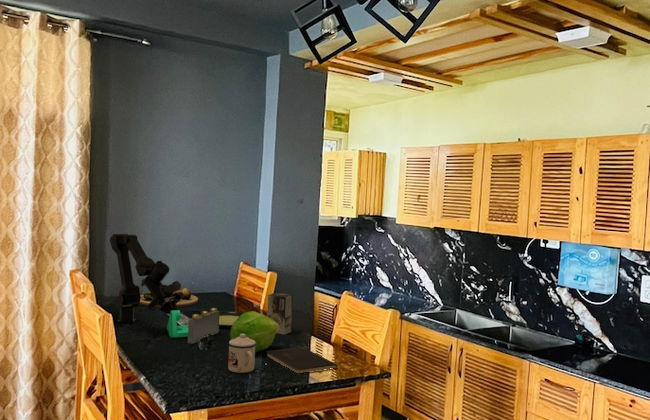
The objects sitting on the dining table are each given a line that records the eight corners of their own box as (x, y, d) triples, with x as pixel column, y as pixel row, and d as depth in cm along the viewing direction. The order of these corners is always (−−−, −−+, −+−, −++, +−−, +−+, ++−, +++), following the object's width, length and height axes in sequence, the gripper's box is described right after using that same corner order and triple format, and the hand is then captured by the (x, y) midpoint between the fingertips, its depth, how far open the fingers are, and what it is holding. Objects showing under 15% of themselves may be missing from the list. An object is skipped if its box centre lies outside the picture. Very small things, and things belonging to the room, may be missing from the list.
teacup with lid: (222, 366, 185) (224, 332, 185) (247, 363, 190) (249, 329, 190) (237, 377, 175) (239, 341, 175) (263, 373, 180) (265, 338, 180)
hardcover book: (296, 376, 181) (296, 369, 181) (265, 357, 200) (265, 351, 200) (337, 370, 189) (337, 363, 189) (303, 352, 209) (304, 346, 209)
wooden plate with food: (151, 295, 307) (152, 280, 307) (206, 299, 303) (207, 284, 303) (123, 305, 276) (123, 289, 276) (184, 310, 271) (184, 293, 271)
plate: (271, 321, 257) (271, 316, 257) (237, 333, 231) (237, 327, 231) (221, 313, 268) (221, 308, 268) (183, 324, 243) (184, 318, 243)
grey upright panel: (193, 343, 211) (194, 316, 211) (187, 343, 212) (188, 315, 212) (218, 332, 230) (219, 307, 230) (213, 331, 231) (214, 307, 231)
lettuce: (287, 350, 209) (290, 319, 205) (240, 365, 198) (241, 332, 193) (268, 332, 220) (270, 302, 216) (222, 346, 209) (222, 314, 205)
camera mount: (192, 338, 219) (193, 312, 218) (173, 340, 215) (174, 313, 215) (185, 331, 229) (186, 306, 229) (167, 332, 226) (168, 307, 226)
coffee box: (291, 332, 238) (293, 294, 238) (284, 335, 232) (286, 296, 232) (273, 328, 242) (275, 292, 241) (265, 331, 236) (267, 294, 236)
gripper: (155, 277, 217) (178, 308, 214) (181, 272, 235) (203, 301, 231) (137, 295, 219) (159, 326, 216) (164, 289, 237) (185, 317, 234)
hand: (178, 317), depth 224 cm, fingers closed
